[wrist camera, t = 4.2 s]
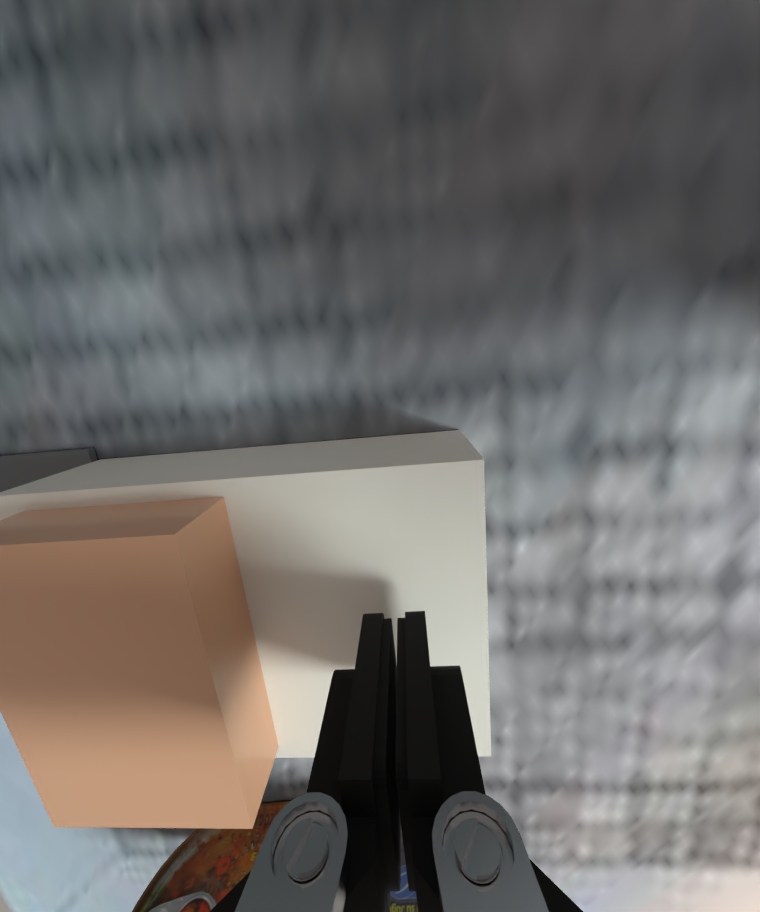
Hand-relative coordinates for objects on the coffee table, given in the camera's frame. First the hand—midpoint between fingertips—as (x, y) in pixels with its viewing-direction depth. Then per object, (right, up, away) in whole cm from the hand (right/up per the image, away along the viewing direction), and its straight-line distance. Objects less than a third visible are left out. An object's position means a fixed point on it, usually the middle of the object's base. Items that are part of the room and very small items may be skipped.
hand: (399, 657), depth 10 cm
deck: (-4, +1, +5) cm, 7 cm away
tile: (-7, 0, +2) cm, 7 cm away
